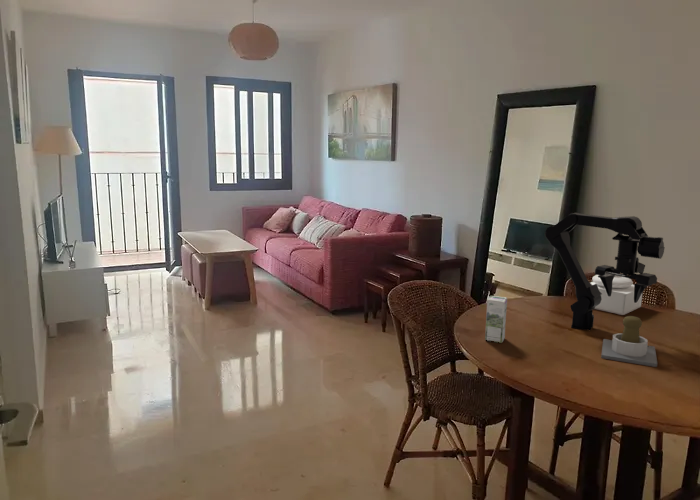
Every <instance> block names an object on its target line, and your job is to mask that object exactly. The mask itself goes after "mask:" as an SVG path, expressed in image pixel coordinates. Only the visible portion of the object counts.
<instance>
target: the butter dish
mask: <svg viewBox="0 0 700 500" xmlns="http://www.w3.org/2000/svg"><path fill="white" fill-rule="evenodd" d="M598 276H599V275H596V274H594V276H592V279H591V280H592V281H591V282H590V281H589V283H591V284H592V285H594V284H597V286H598V289H599V291H600V292H601V293H602V294H601V298H602V300H601V302H600V304H599V305H597V306H596V307H595V308H594V309H593V310H597V311H603V312H607V313H613V314H615V315H616V314H617V315H619V316H625V315H627V314H629V313H630V312H633V311H635V310H637V309H640V308H641V307H642V300H643V299H642V298H643V294H644V293H643V292H644V291H643V292H642V294H641V296H640V298H639V300H638V301H637V303H634V284H633V279H630V278H626V277H621V276H616V275H615V276H614V279H613V281H612V293H611V296H608V294H607V292H606V289H605V287H604V285H603V283H602V281H601V279H600V278H599V277H598Z"/></svg>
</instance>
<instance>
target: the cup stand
mask: <svg viewBox="0 0 700 500" xmlns="http://www.w3.org/2000/svg"><path fill="white" fill-rule="evenodd" d="M622 334H623V332H622V333H621V332H620V333H614V334H612V339H607V338H603V339H602V347H601V355H600V359H604V360H605V359H606V360H612V361H615V362H616V361H617V362H623V363H630V364H636V365H641V366H647V367H653V368H657V367H658V359H657V353H656V346H653V345H648V341H649V340H648V339H647V338H645V337H644V336H641V335H639V338H640V343H630V342H625V341H621V337H622Z"/></svg>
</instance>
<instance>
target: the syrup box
mask: <svg viewBox="0 0 700 500" xmlns="http://www.w3.org/2000/svg"><path fill="white" fill-rule="evenodd" d="M507 306H508V297H505V296H498V295H495V296H494V295H489V296H488V298H487V300H486V316H485V318H486V319H485V333H484V335H485V336H484V341H485V340H487V342H491V341H494V342H493V343H498V342H499V344H502V343H503V342H504V340H505V337H506V320H507V310H508V309H507V308H508V307H507Z"/></svg>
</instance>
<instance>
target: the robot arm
mask: <svg viewBox="0 0 700 500" xmlns="http://www.w3.org/2000/svg"><path fill="white" fill-rule="evenodd" d="M576 226H582V227H583V226H585V227H591V228H600V229H606V230H610V231H613V232H615V233H617V234H616V235H615V236H613V237H612V238H611V239H612V240H613V241H618V246H617V247H618V248H617V255H616V256H614V261H616V266H611V265H607V264H602V265H597V266H596V267H595V268H594V275H599V276H598V277H599V278H600V279H601V281H602V283H603V285H604V287H605V289H606V292H607V294H608V296H611V293H612V281H613V279H614V276H615V275H616V276H621V277H626V278H629V279H631V280H635V281H636V283H634V284H633V285H634V303H637V301H638V300H639V298H640V296H641V294H642V295H643V293H642V292H644V291H645V289H646V288H647V287H650V286H652V285H655V284H657V282H658V278H657V276H656V274H654V273H650V272H649V273H647V272H644V271H645V267H646V264H644V263H642V262H639V261H640V259H639V257H637V256H638V254H639V255H640V257H645V258H651V259H659V260H660V259H661V260H662V258H663V257H664V253H665V242H664V237H661V236H659V237H658V236H657V237H654V236H649V235H648V233H647V231H645V229H644V228H643V223H642V220H641V219H640V218H639V217H638V216H634V215H633V216H619V217H617V216H615V217H611V216H601V215H593V214H585V213H579V212H574V213H573V212H571V213H570V214H568V215H566V217H565V218H563V219H562V220H559V221H558V222H557V223H555V224H554V225H550V226H548V227H547V228H546V230H545V232H544V237H545V238H546V240H547V241H548V242H549V245H551V246H552V247H553V248H554V249H555V250H556V251H557V252H558V254H559V256H560V258H561V260H562V262H563V264H564V266H565V268H566V271H567V272H568V274H569V276H570V278H571V281H572V283H573V285H574V288H575V297H576V301H575V302H574V303H572V304H571V305H570V310H571V312H572V321H571V328H572V329H578V330H585V331H591V330H592V328H593V327H594V321H595V320H594V319H595V315H594V314H593V313H594V310H595V309H594V308H595V307H596V306H597V305H599V304H600V302H601V300H602V298H601V294H602V293H601V292H600V291H599V289H598V286H597V284H594V285H592V284H591V283H590V281H589V280H588V278H587V276H586V274H585V272H584V271H583V268H582V266H581V265H580V262H579V260H578V258H577V256H576V254H575V252H574V250H573V247H572V246H571V237H570V234H569V233H570V232H571V231H573V229H574V228H575V227H576ZM637 253H638V254H637Z"/></svg>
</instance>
